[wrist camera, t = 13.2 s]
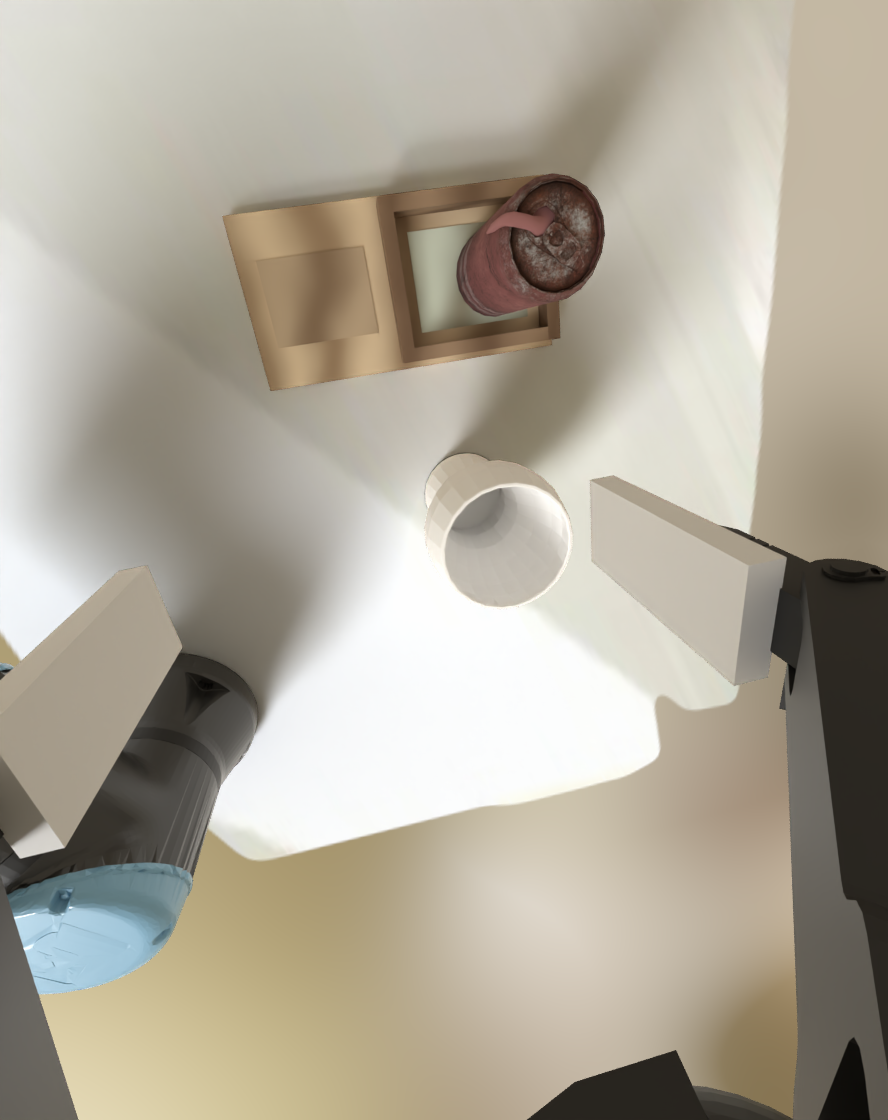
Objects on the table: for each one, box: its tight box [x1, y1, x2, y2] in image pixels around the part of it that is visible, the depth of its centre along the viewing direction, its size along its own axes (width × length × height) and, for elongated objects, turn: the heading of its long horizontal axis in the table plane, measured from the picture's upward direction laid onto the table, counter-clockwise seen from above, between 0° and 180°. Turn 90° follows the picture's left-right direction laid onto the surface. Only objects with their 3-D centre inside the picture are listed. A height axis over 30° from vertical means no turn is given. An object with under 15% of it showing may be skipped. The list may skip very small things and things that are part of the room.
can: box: [456, 174, 605, 317], centre depth 33 cm, size 6×6×14 cm
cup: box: [424, 453, 573, 609], centre depth 41 cm, size 11×11×15 cm
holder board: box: [222, 175, 560, 391], centre depth 38 cm, size 24×12×4 cm, turn 98°
